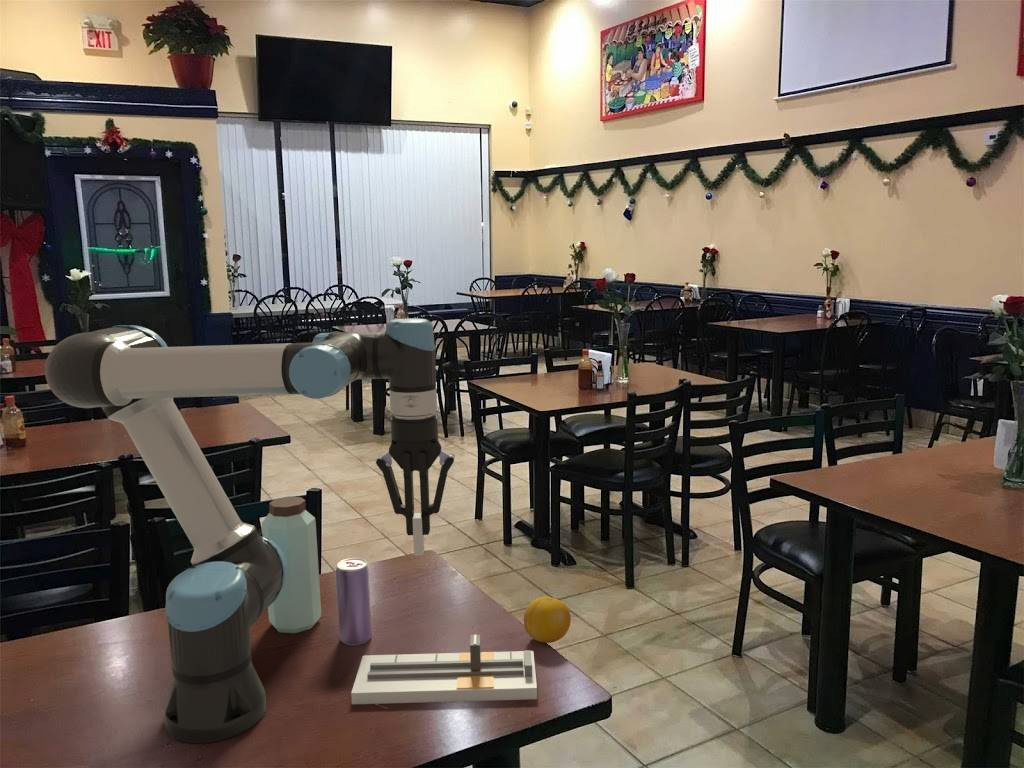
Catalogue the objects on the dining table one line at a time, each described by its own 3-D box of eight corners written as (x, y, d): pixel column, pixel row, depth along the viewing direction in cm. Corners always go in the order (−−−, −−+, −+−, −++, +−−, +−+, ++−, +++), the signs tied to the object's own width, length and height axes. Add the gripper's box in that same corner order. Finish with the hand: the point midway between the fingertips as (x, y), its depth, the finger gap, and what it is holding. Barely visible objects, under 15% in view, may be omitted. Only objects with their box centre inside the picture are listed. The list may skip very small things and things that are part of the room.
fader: (470, 675, 135) (470, 644, 134) (471, 664, 138) (470, 634, 138) (480, 675, 135) (479, 644, 134) (480, 664, 138) (480, 633, 138)
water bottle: (332, 619, 161) (325, 498, 156) (294, 640, 152) (285, 513, 148) (297, 607, 166) (289, 490, 161) (258, 627, 158) (248, 504, 153)
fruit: (539, 624, 157) (538, 586, 155) (577, 634, 153) (576, 594, 151) (516, 644, 149) (516, 604, 148) (556, 654, 145) (555, 613, 144)
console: (351, 704, 131) (350, 681, 130) (363, 666, 143) (362, 644, 142) (537, 699, 131) (536, 676, 131) (533, 661, 143) (533, 640, 142)
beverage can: (365, 648, 149) (360, 571, 146) (334, 645, 150) (330, 569, 148) (376, 632, 155) (373, 558, 152) (347, 630, 156) (343, 556, 153)
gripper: (370, 420, 127) (376, 562, 131) (452, 418, 127) (457, 560, 131) (376, 410, 134) (383, 545, 139) (455, 409, 135) (459, 543, 139)
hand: (419, 552), depth 135 cm, fingers closed
